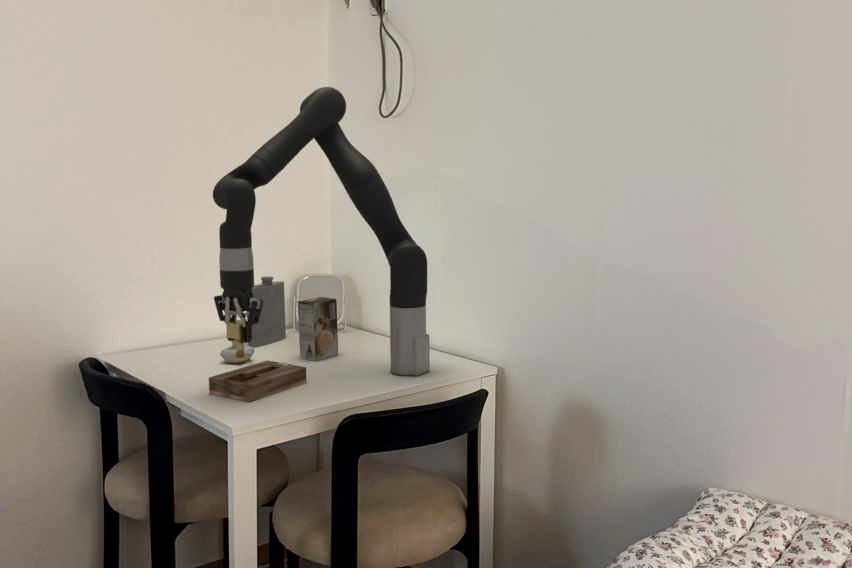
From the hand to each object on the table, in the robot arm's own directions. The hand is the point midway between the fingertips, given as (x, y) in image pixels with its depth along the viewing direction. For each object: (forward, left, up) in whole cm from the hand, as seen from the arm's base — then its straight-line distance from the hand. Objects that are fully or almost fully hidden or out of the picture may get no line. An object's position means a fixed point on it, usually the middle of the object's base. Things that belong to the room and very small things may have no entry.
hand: (239, 340), depth 176 cm
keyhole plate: (0, -5, -12) cm, 14 cm away
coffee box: (+8, -36, -13) cm, 39 cm away
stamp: (+23, -20, -13) cm, 33 cm away
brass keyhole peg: (0, 0, -5) cm, 5 cm away
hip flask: (+33, -42, -13) cm, 55 cm away
